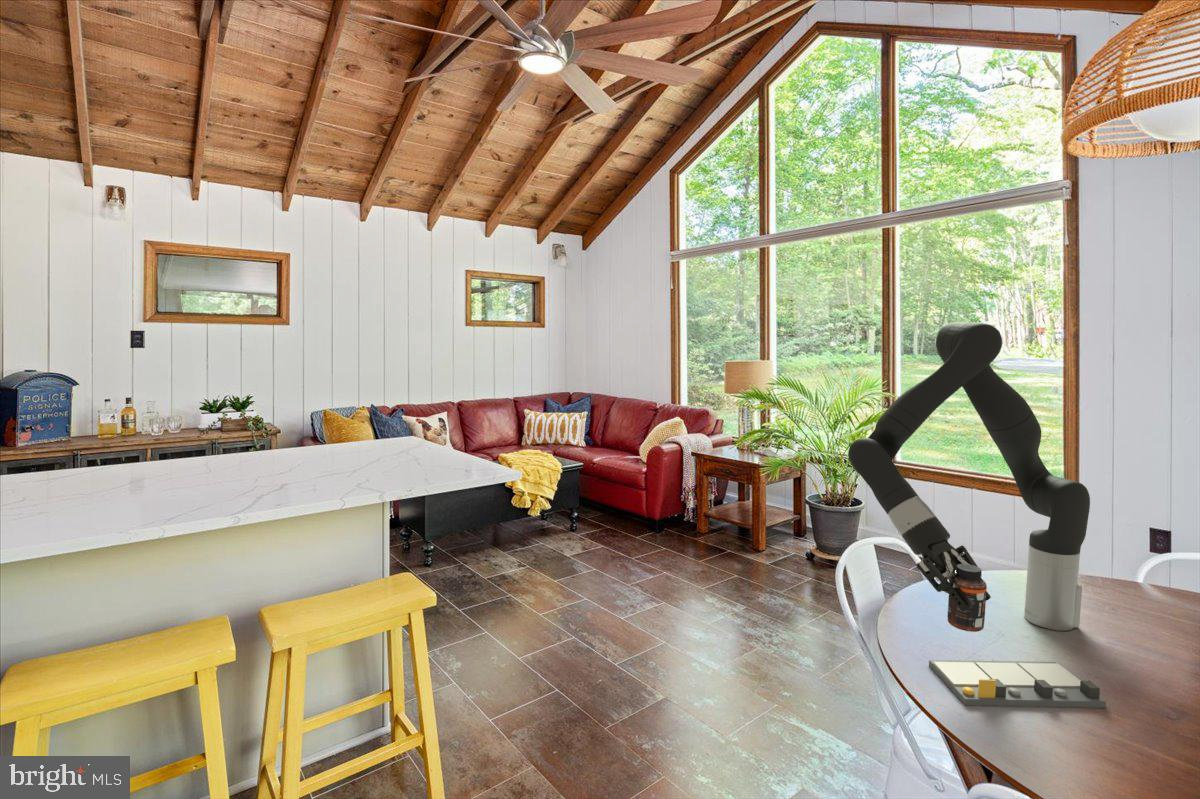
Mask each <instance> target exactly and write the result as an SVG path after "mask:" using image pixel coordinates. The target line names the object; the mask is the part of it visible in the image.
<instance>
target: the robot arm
mask: <svg viewBox="0 0 1200 799" xmlns="http://www.w3.org/2000/svg"><path fill="white" fill-rule="evenodd" d="M935 338H936V339H935V348H936V351H937V353H938V355H939V358H940V359H941V360H942V363H943V364H942V365H941V366H939V368H938V369H937V370H936V371H934V372H933V373H931V375H928V376H927V377H926V378H925V379H923V380H922V381H919V382H918V383H916V384H915V385H914V386H912V387H910V388H909V389H907V390H906V391H904V392H903V393H902V394H901V395H899V396H898V398H896V399H895V400H894V401H893V402H892V403H891V405H890V406H889V407H888V408H887V409H886V410H885V411H884V412H883V414H881V416H880V417H879V418H878V420H877V421H876V424H875V428H874V429H873V431H872V433H870V435H869V436H868V437H861V438H858V439H856V440H854V441H853V442H852V443H851V444H850V446H849V448H848V452H847V456H848V460H849V462H850V464H851V466H852V468H853V470H854V471H855V472H856V473H857V474H858V475H860V476H861V477H862V479H863V481H865V483H866V484H867V485H868V486H869V488H870V490H871V491H872V493H873V495H874V497H875V498H876V500H877V502H878V503H879V505H880V506H881V507H882V509H883V510H884V512H885V513H886V515H887V516H888V517H889V519H890V522H891V523H892V525H893V526H894V528H895V529H896V531H897V532H898V534H900V536H901V537H902V539H903V541H904V542H905V543H906V544H907V545H908V547H909V549H910V550H911V552H913V554H914V555H916V556H920V555H921V556H922V558H923V559H922V560H921V561H919V562H917V563H916V564H915V566H916V568H917V569H918V570H919V571H920V573H921V574H922V575H923V577H925V580H927V581H928V583H929V584H930V585H931V586H932V587H933V588H934V590H936V592H938V593H941V592H944V593H946V594H948V596H949V595H950V597H951V598H952V599H953V601H954V602H955V603H956V605H957V606H958V607H959V608H960V610H961V611H965V610H967V609H969V608H971V607H972V603H971V602H970V601H969V599H968V598H967V597H966V595H965V594H964V593H963V591H962V590H961V589H960V587H959V588H957V587H958V585H957V582H956V580H955V578H954V576H955V574H956V573H957V572H956V569H957V565H959V564H969V565H974V566H977V567H979V566H978V565H977V563H976V562H975V560H974V558H973V557H972V556H971V554H970V553H969V551H968V550H967V548H966V547H965V546H964V545H959V546H958V547H954V546H953V545H952V544H950V543H949V539H950V537H951V534H950V532H949V531H948V529H946V527H945V526H944V525H943V523H942V522H941V521H940V520H939V519H938V517H937V515H936V514H935V513H934V512H933V511H932V509H931V508H930V506H929V505H928V504H927V503H926V502H925V501H924V500H923V499H922V498H921V497H920V496H919V495H918V493H917V492H916V491H915V490H914V488H913V487H912V486H911V484H910V483H909V482H908V480H906V478H905V477H904V476H903V475H902V474H901V472H900V471H899V469H898V468H897V466H896V465H895V463H894V462H893V459H894V458H895V457H896V455H897V454H898V453H899V451H900V450H901V448H902V446H903V445H904V444H905V443H906V442H907V441H908V440H909V439H910V438H911V437H912V436H913V435H914V433H915V432H916V431H917V430H918V429H919V428H920V427H921V426H922V425H923V424H924V423H925V422H926V420H927V419H928V418H929V417H930V416H931V415H932V414H933V413H934V411H936V410H937V408H939V407H940V406H941V405H942V404H944V402H946V401H947V400H948V399H949V398H950V397H952V395H953V394H955V393H956V392H957V391H959V390H960V389H961V388H962V389H963V390H964V392H965V393H966V396H967V398H968V399H969V401H970V403H971V404H972V406H973V407H974V409H975V411H976V413H977V414H978V416H979V418H980V420H981V422H982V424H983V426H984V428H985V429H986V431H987V433H988V434H989V435H990V437H991V439H992V441H993V442H994V443H995V445H996V446H997V449H998V451H999V452H1000V454H1001V456H1002V458H1003V460H1004V461H1005V463H1006V465H1007V466H1008V468H1009V470H1010V472H1011V474H1012V476H1013V478H1014V482H1015V484H1016V486H1017V489H1018V491H1019V493H1020V496H1021V498H1022V500H1023V502H1024V503H1025V505H1026V506H1027V507H1028V508H1029V509H1030V510H1031V511H1033V512H1034V513H1036V514H1039V515H1041V516H1044V517H1048V518H1049V523H1048V527H1047V529H1037V530H1032V532H1030V534H1029V540H1028V553H1027V554H1028V555H1027V569H1026V571H1027V572H1026V584H1025V585H1026V586H1025V597H1024V598H1025V600H1024V612H1023V615H1024V616H1023V618H1025V619H1026V620H1027V622H1029V623H1031V624H1033V625H1035V626H1038V627H1041V628H1043V629H1044V628H1045V629H1049V630H1053V631H1062V632H1063V631H1067V632H1068V631H1071V630H1072V631H1073V630H1074V629H1076V628H1078V629H1079V628H1080V622H1081V612H1082V611H1081V610H1082V598H1083V597H1082V596H1083V586H1082V585H1081V584H1079V570H1080V558H1081V548H1082V545H1083V543H1084V541H1085V539H1086V535H1087V530H1088V523H1089V522H1088V521H1089V514H1090V507H1091V496H1090V493H1089V491H1088V488H1087V487H1086V486H1085V485H1084V484H1083V483H1081V482H1080V481H1075V480H1072V479H1068V478H1064V477H1059V476H1056V475H1053V474H1052V473H1051V472H1050V470H1048V469H1047V468H1046V465H1045V464H1044V462H1043V461H1042V459H1041V457H1040V454H1039V448H1040V445H1041V440H1042V439H1041V438H1042V427H1041V425H1040V423H1039V420H1038V419H1037V417H1036V415H1035V413H1034V411H1033V409H1032V408H1031V406H1030V405H1029V403H1028V402H1027V400H1026V399H1025V398H1024V397H1023V396H1022V395H1021V394H1020V393H1019V392H1018V391H1017V390H1016V389H1014V388H1013V387H1012V386H1011V385H1010V384H1008V382H1006V381H1005V380H1004V379H1003V378H1002V377H1000V375H999V374H997V372H996V371H995V370H994V369H993V368H992V367H991V365H990V364H991V363H992V362H993V361H994V360H996V358H997V357H998V356H999V354H1000V352H1001V351H1002V346H1003V339H1002V338H1003V337H1002V334H1001V333H1000V330H998V328H997V327H995V326H993V325H992V324H988V323H983V322H974V321H973V322H972V321H971V322H970V321H954V322H949V323H947V324H945V325H943V326H942V327H941V328H940V329H939V331H938V332H937V335H936V337H935ZM938 582H939V583H938ZM990 599H991V595H990V593H989V592H988V591H987V590H986V602H987V601H989V600H990Z"/></svg>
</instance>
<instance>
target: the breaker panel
mask: <svg viewBox="0 0 1200 799" xmlns="http://www.w3.org/2000/svg"><path fill="white" fill-rule="evenodd" d="M928 667H929V668H931V670H932V671H933V672H934V673H935V674H936V676H938V678H939V679H940V680H941V681H942V682H943V683H944V684H945V685H946V686H947V688H949V689H950V691H951V692H952V693H953V694H954V695H955V696H956V697H957V698H958V699H959V700H960V702H961V703H962V704H963V705H964V706H967V707H968V706H976V707H977V706H978V707H980V706H981V707H1025V706H1026V707H1032V708H1033V707H1035V708H1037V707H1038V708H1083V707H1084V708H1085V709H1087V708H1088V709H1089V708H1090V709H1091V708H1092V709H1093V708H1094V709H1095V708H1096V709H1097V708H1098V709H1106V708H1107V700H1105V699H1104V698H1103V697H1102V696H1100V695H1101V694H1100V693H1101V687H1099V686H1098V685H1096V684H1095V683H1094V682H1093V681H1091V680H1088V679H1087V680H1084V679H1083V680H1080V679H1079V678H1077V676H1075V675H1074V674H1072V673H1071V672H1069V670H1067V669H1066V668H1064V667H1063V666H1062V665H1060V664H1059V663H1057V662H1055V661H1036V660H1035V661H1031V660H1029V661H1027V660H1025V661H1023V660H1019V661H1017V660H1016V661H1015V660H960V659H959V660H956V659H955V660H954V659H953V660H950V659H947V660H946V659H942V660H941V659H929V660H928Z"/></svg>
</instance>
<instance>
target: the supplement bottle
mask: <svg viewBox="0 0 1200 799" xmlns="http://www.w3.org/2000/svg"><path fill="white" fill-rule="evenodd" d="M977 566H978V565H977ZM977 566H974V565H970V564H959V565H957V569H956V572H957V573H956V574H955V576H954V578H955V580H956V582H957V585H958V587H957V588H959V587H960V589H961V590H962V591H963V593H964V594H965V595H966V597H967V598H968V599H969V601H970V602H971V603H972V607H971V608H969V609H967V610H965V611H961V610H960V608H959V607H958V606H957V605H956V603H955V602H954V601H953V599H952V598H951V597H950V595H949V594H948V600H947V601H948V602H947V604H948V605H947V622H948V624H949V625H951V626H952V627H954V628H956V629H958V630H960V631H965V632H971V633H975V632H977V633H978V632H981V631H982V630H983V629H984V627H985V620H986V606H987V605H986V604H987V601H986V591H987V590H988V588H987V587H988V586H987V582H985V580H984V579H983V578H982V569H981V568H980V567H979V566H978V567H977Z"/></svg>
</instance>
